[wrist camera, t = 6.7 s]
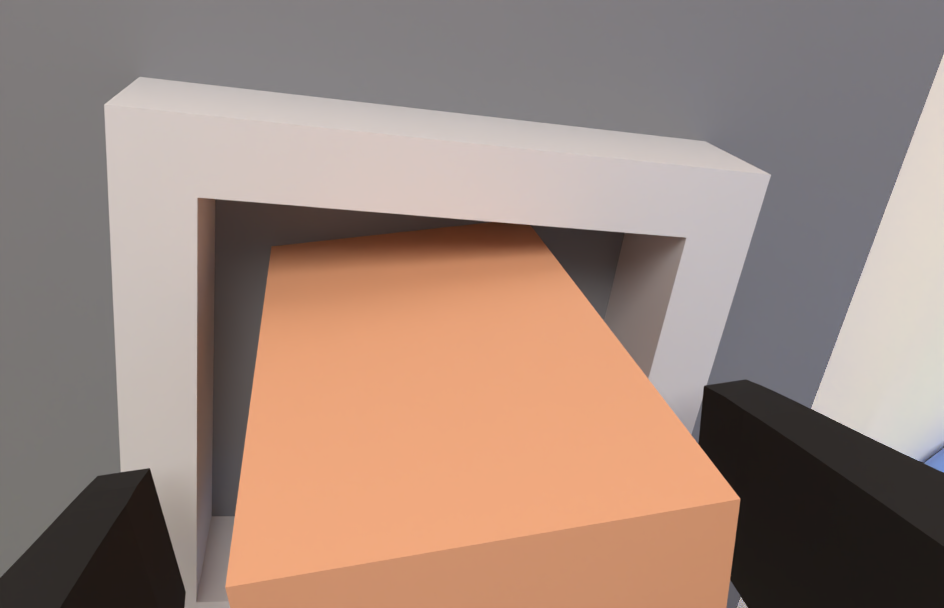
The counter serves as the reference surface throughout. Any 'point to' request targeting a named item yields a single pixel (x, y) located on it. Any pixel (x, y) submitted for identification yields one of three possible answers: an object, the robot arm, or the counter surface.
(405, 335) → the wooden peg
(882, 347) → the counter surface
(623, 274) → the mounting socket
